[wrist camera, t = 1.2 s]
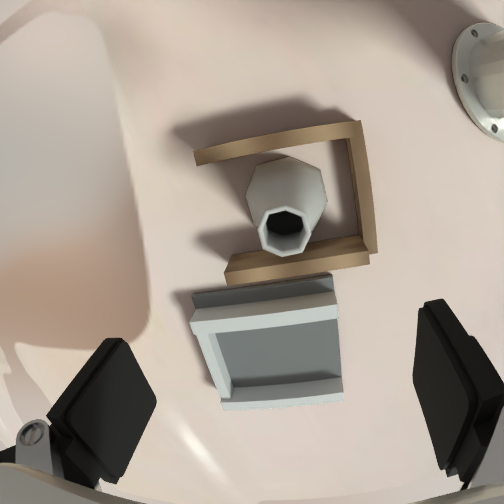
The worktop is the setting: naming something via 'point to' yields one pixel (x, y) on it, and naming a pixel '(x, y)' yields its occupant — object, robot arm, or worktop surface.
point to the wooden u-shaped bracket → (315, 253)
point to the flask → (285, 204)
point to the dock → (271, 343)
